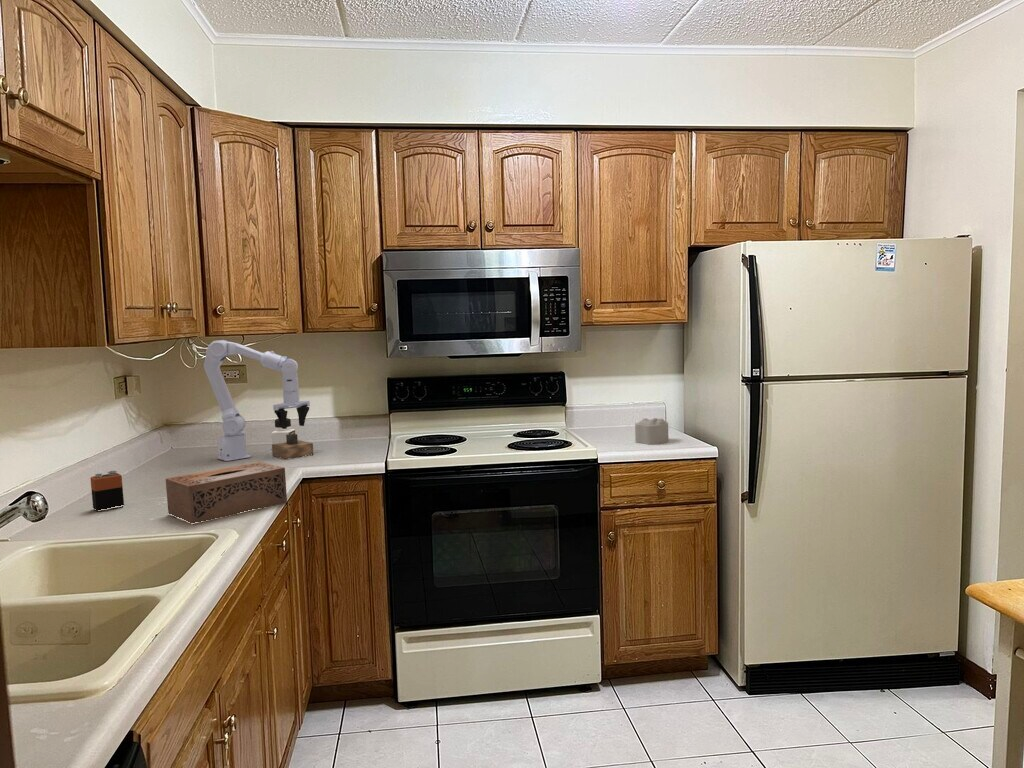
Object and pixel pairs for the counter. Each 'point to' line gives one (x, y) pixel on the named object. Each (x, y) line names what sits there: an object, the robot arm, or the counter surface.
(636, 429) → the lumpy-topped squat cylinder
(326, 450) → the counter surface
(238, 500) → the tissue box cover
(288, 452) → the cover
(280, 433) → the medicine bottle
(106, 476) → the battery
